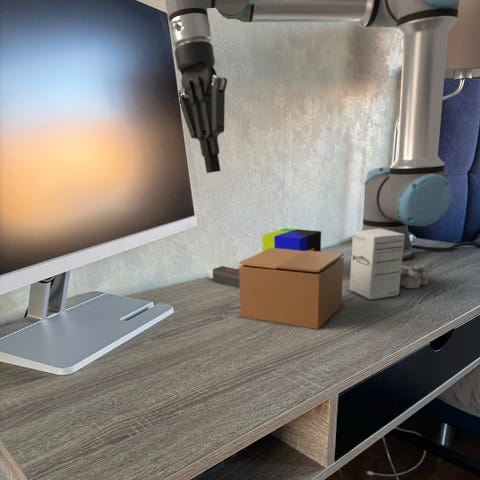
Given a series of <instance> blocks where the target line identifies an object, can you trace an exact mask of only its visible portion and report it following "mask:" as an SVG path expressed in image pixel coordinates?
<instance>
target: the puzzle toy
mask: <svg viewBox="0 0 480 480" xmlns="http://www.w3.org/2000/svg"><path fill="white" fill-rule="evenodd" d="M321 247H322V231H321V230H310V229H300V228H299V229H298V228H287V227H285V228H281V229H279V230H274V231H271V232H267V233H265V234H262V252H263V251H265V250H267V249H269V248H278V249H289V250H299V251H319V252H322V250H321V249H322V248H321Z"/></svg>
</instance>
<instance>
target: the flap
mask: <svg viewBox="0 0 480 480" xmlns="http://www.w3.org/2000/svg"><path fill="white" fill-rule="evenodd" d="M302 252H304V251H299V250H289V249H278V248H269V249H267V250H265V251H263V250H262V251H261V252H259V253H256V254H254V255H252V256H250V257H248V258H246V259H243V260H240V261H239V262H238V265H239V266H242V265H248V266H256V267H265V268H273V269H278V266H279V265H281V264H282V263H284V262H286V261H288V260H290V259H292V258H293V257H295V256H297V255H299V254H301V253H302Z"/></svg>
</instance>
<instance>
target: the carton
mask: <svg viewBox="0 0 480 480" xmlns="http://www.w3.org/2000/svg"><path fill="white" fill-rule="evenodd" d="M344 258H345V257H344V253H343V252H342V253H341V252H331V251H321V252H319V251H304V252H302V253H301V254H299V255H297V256H295V257H293V258H292V259H290V260H288V261H286V262H284V263H282V264H281V265H279V266H278V269H273V268H265V267H256V266H248V265H239V266H238V269H239V281H240V287H239V304H240V305H239V306H240V317H242V318H246V319H247V318H248V319H252V320H253V319H254V320H260V321H265V322H272V323H277V324H283V325H290V326H296V327H303V328H307V329H308V328H309V329H315V330H319V329H320V328H321V327H322V326H323V325H324V324H325V322H327V321H328V320H329V319H330V318H331V317H332V316H333V315H334V314H335V313H336V312H337V311H338V310H339V309H340V307H342V301H343V300H342V299H343V278H344Z"/></svg>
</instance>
